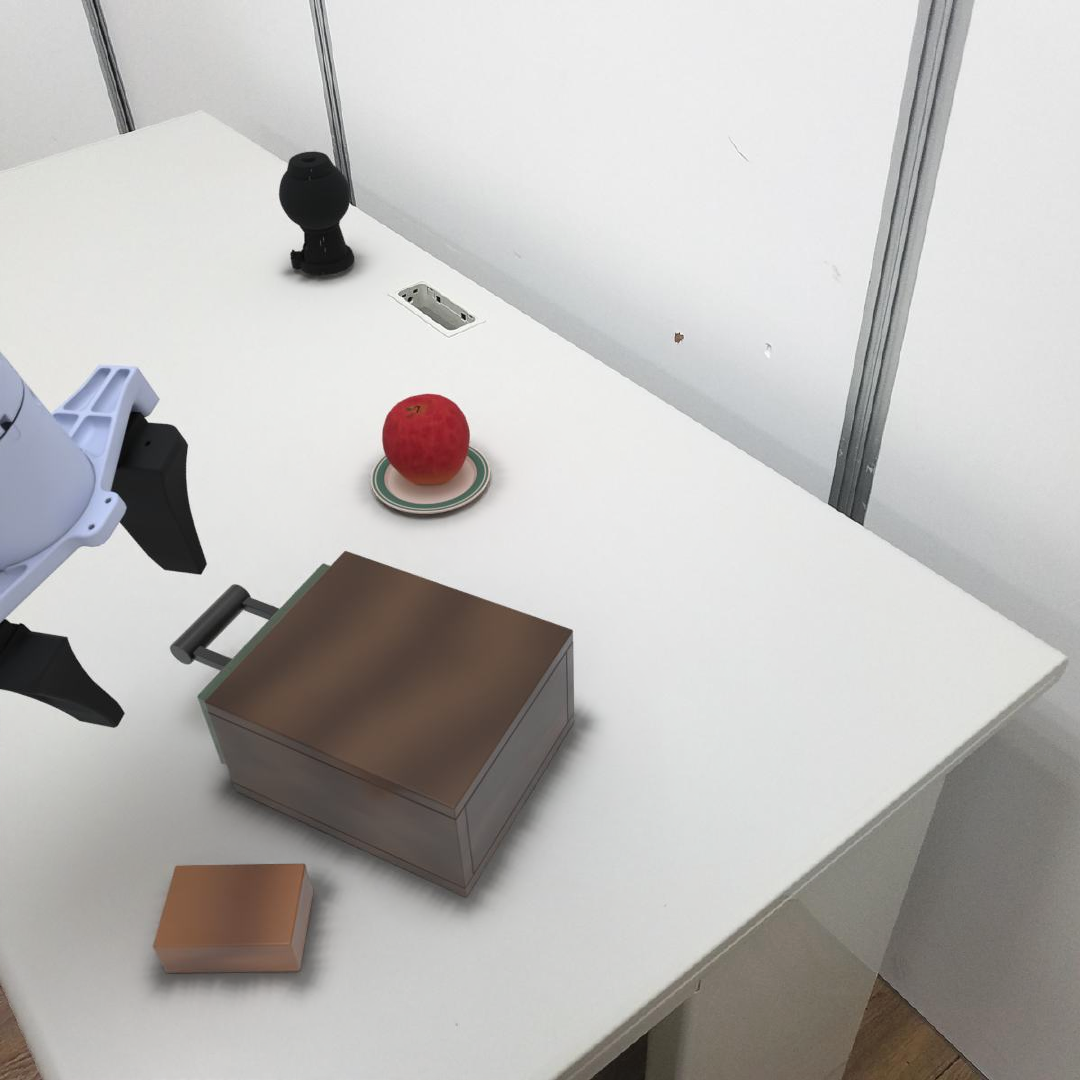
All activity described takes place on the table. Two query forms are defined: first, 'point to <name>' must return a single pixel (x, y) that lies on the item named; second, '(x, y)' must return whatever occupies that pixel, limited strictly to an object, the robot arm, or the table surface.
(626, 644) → the table surface
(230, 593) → the drawer
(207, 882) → the brown rectangular block
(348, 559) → the cabinet
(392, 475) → the red apple on plate
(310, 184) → the gumball machine
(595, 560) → the table surface
